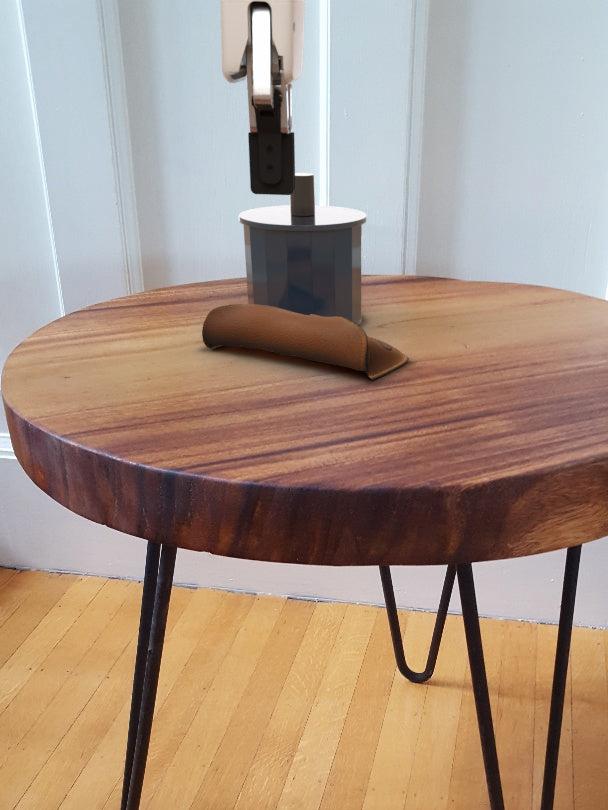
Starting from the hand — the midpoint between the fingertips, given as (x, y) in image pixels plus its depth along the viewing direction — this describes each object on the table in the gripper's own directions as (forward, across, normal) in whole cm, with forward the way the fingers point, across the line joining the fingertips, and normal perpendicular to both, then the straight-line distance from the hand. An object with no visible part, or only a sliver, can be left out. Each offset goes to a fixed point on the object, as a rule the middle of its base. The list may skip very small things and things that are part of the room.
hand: (273, 192), depth 72 cm
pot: (+15, -22, +1) cm, 26 cm away
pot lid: (+5, -22, 0) cm, 22 cm away
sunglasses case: (+15, -9, +2) cm, 17 cm away
